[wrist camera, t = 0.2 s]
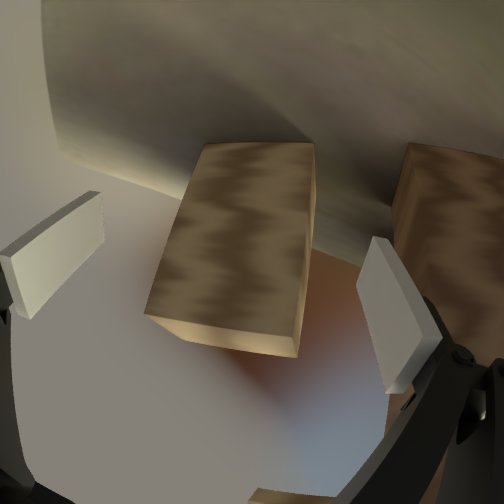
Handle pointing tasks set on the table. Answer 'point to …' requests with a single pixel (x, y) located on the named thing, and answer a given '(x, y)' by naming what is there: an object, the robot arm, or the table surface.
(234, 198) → the base pedestal
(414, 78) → the table surface
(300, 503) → the wooden block
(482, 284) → the stand
